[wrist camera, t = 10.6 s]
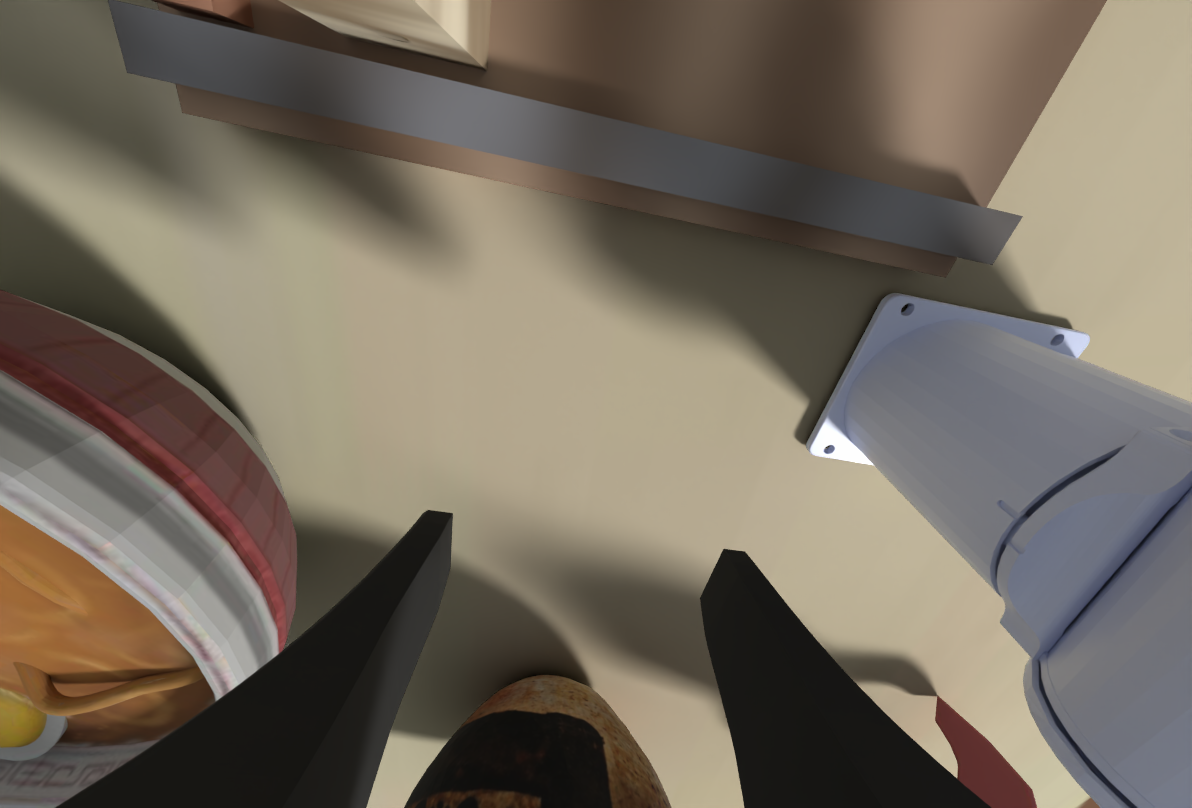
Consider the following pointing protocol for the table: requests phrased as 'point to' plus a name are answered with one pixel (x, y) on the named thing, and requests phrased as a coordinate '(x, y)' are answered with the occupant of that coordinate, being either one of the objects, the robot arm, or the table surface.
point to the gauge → (411, 25)
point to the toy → (982, 763)
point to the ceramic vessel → (541, 754)
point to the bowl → (122, 552)
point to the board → (670, 105)
